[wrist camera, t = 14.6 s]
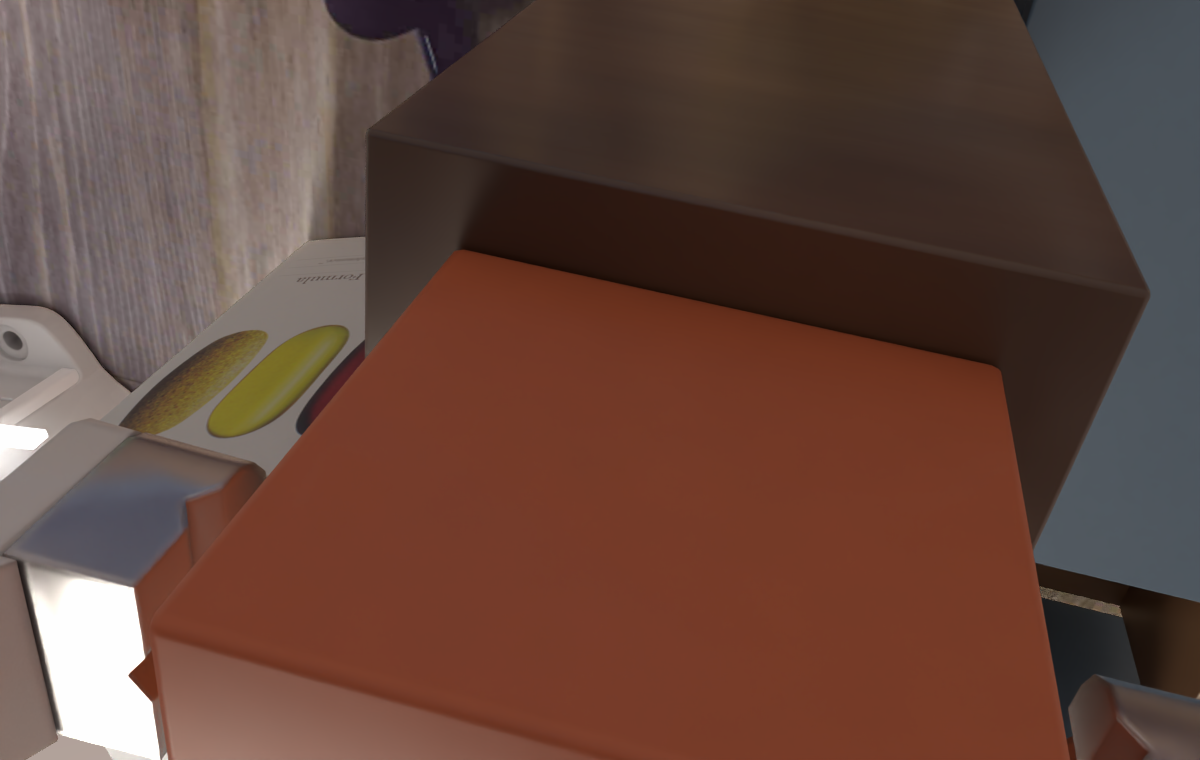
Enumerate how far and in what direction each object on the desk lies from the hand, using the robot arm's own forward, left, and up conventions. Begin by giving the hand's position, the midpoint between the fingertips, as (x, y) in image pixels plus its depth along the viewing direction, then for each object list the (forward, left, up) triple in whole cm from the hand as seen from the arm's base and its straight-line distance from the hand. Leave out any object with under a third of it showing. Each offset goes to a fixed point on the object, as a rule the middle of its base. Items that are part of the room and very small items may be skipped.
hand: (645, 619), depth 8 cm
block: (0, 0, -1) cm, 1 cm away
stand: (0, 0, -26) cm, 26 cm away
